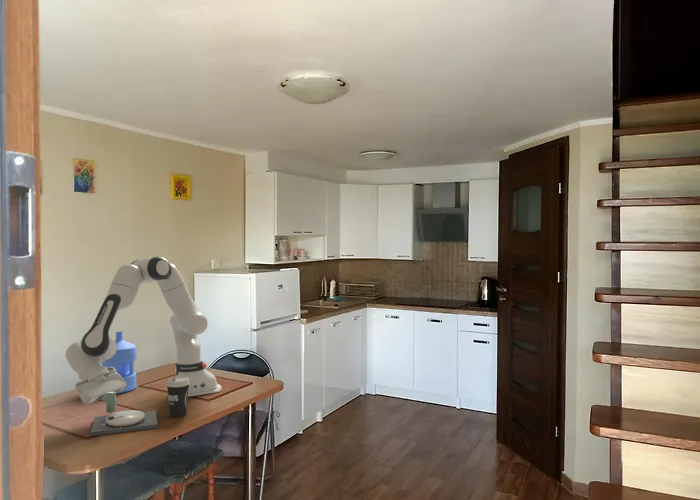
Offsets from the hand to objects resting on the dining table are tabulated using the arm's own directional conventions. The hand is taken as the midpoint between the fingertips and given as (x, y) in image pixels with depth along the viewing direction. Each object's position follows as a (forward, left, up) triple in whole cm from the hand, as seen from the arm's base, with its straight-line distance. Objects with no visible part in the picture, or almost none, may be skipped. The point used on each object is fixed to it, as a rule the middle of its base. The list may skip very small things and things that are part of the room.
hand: (114, 404), depth 202 cm
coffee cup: (-24, -2, -8) cm, 26 cm away
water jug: (0, -52, -8) cm, 53 cm away
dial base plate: (-4, +2, -8) cm, 9 cm away
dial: (-4, +2, -6) cm, 8 cm away
